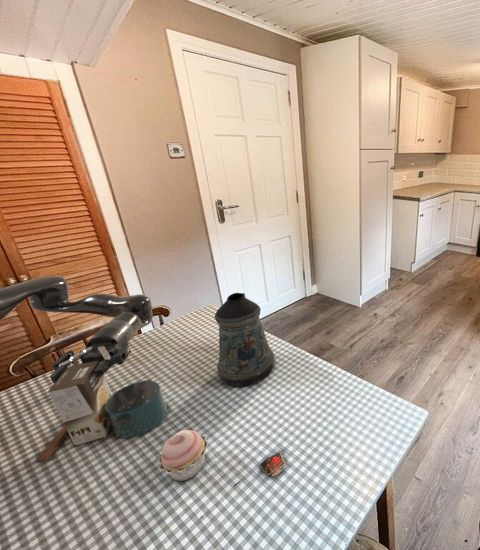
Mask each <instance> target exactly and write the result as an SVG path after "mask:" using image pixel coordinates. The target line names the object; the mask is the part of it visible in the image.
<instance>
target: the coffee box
mask: <svg viewBox="0 0 480 550" xmlns="http://www.w3.org/2000/svg"><path fill="white" fill-rule="evenodd" d="M100 363H101V362H100ZM100 363H99V361H94V362H89V363H84V364H81V363H79V365H77V366H73V365H71V366H72V367H71V366H67V368H66V370H65V371H64V372H63V373H62V375H61V376H60V377H59V378H58V380H57V381H56V382H55V383H52V384H53V385H52V386H51V387H50V388H49V389H48V390H47V393H48V394H49V396H50V399H51V400H52V403H53V405H54V406H55V409H56V411H57V412H58V414H59V417H60V418H61V421H62V422H63V426H64V425H65V427H66V429H67V431H68V433H69V434H68V435H69V437H70V439H71V441H72V443H73V445H74V446H79V445H82V444H85V443H90V442H92V441H96V440H100V439H103V438H106V437H107V436H108V434H109V432H110V430H111V427H112V423H111V421H110V419H109V417H108V414H107V412H106V410H105V405H106V402H107V401H108V400H109V398H110V397H111V396H112V395H113V393H112V391H111V388H110V385H109V384H108V381H107V378H106V376H105V374H103V375H102V376H101V377H96V374H95V372H94V370H95V369H96V368H97V367H98V365H99V364H100Z"/></svg>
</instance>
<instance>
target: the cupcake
mask: <svg viewBox="0 0 480 550" xmlns="http://www.w3.org/2000/svg"><path fill="white" fill-rule="evenodd" d="M206 439H207V436H206V435H200V433H199V432H197V430H189V429H184V430H180V431H177V432H176V433H175V434H174V435H172V436H171V437H169V438H168V439H167V440H166V441H165V442H164V444H163V446H162V453H161V455H160V456H159V457H158V459H157V462H158V463H160V464H159V465H158V470H159V471H162V472H165V473H166V474H167V475H168V476H170V477H171V478H172V479H173V480H175V481H179V482H185V481H187V480H189V479H192V478H193V477H195V476H196V475H197V474H198V473H199V472H201V470H202V469H203V467H204V466H205V462H206V451H207V449H208V445H209V442H208V441H206Z"/></svg>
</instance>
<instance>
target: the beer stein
mask: <svg viewBox="0 0 480 550" xmlns="http://www.w3.org/2000/svg"><path fill="white" fill-rule="evenodd" d="M261 311H262V310H261V307H260V305H259V304H257V302H254V301H252V300H250V299H248V298H247V297H246V294H245V292H234V293H232V294H230V295H228V296H227V298H226V301H225V302H224V303H223V304H221V306H219V308H218V309H217V310H216V312H215V314H214V320H215V321H216V323H217V324H218V342H219V352H218V353H219V354H218V362H217V365H216V367H217V374H218V375H219V378H220V379H221V381H222V382H223V384H224V385H226V386H229V387H233V388H246V387H249V386H253V385H257V384H259V383H260V382H261V381H263V380H264V379H266V378H267V377H269V376H270V375H271V373H272V371H273V369H274V366H275V365H274V363H275V353H274V351H273V350H272V348H271V347H270V345H269V342H268V340H267V335H266V333H265V330H264V327H263V324H262V321H261V319H260V315H261Z"/></svg>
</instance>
